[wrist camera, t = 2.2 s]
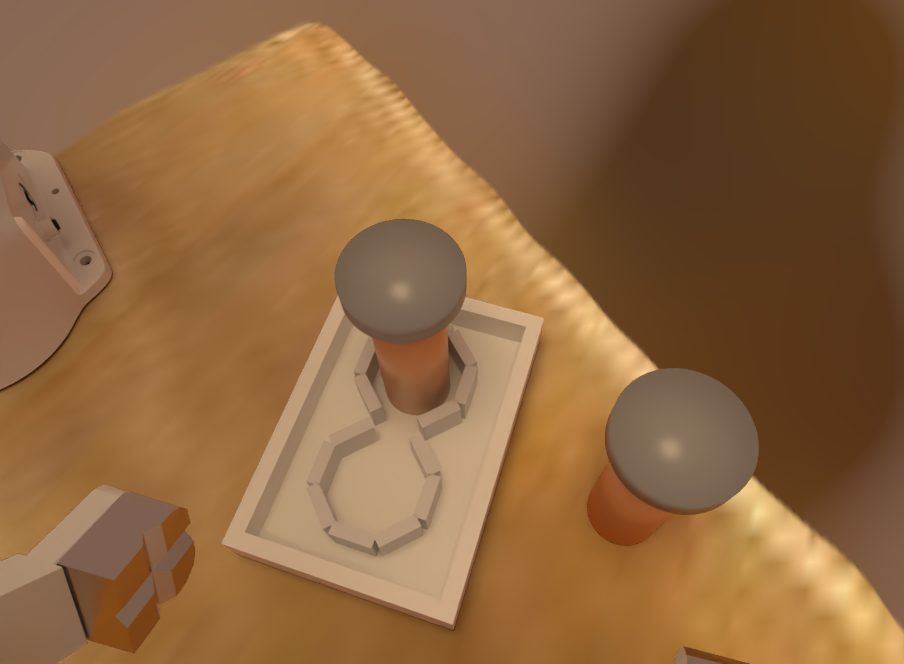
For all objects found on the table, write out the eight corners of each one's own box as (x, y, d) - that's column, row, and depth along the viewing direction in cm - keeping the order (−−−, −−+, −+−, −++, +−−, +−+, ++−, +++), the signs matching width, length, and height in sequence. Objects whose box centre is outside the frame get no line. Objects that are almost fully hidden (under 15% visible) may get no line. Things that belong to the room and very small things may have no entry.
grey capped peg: (356, 361, 48) (318, 242, 35) (444, 329, 49) (437, 203, 36) (388, 446, 45) (358, 348, 32) (481, 409, 46) (487, 302, 33)
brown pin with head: (552, 481, 44) (585, 397, 32) (642, 444, 45) (707, 349, 33) (600, 581, 41) (656, 530, 29) (695, 538, 42) (788, 472, 30)
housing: (453, 630, 40) (452, 624, 37) (239, 555, 42) (221, 543, 39) (539, 342, 49) (544, 318, 46) (358, 292, 51) (351, 266, 48)
